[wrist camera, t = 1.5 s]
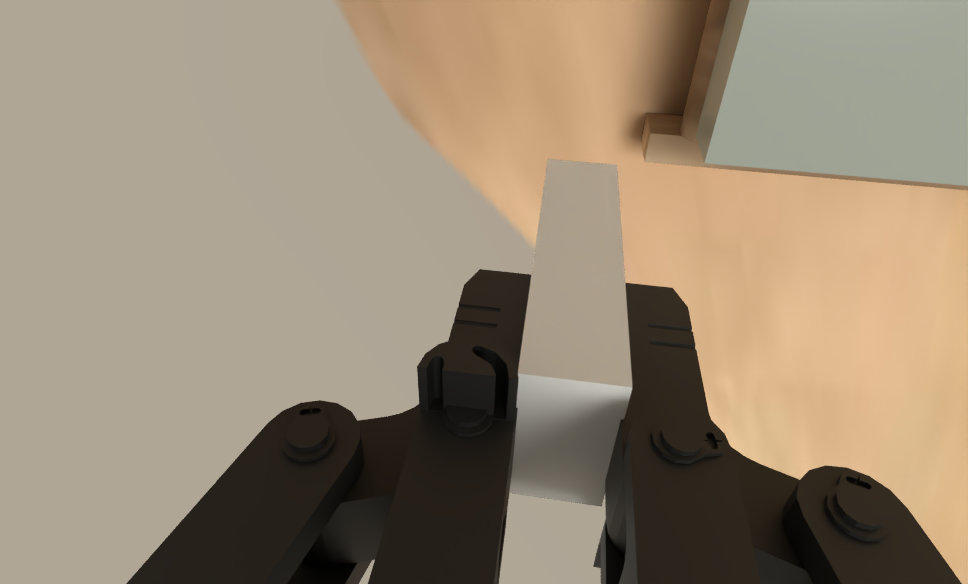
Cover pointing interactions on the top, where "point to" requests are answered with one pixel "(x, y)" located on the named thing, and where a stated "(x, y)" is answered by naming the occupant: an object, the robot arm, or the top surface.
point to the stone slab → (842, 89)
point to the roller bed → (677, 134)
